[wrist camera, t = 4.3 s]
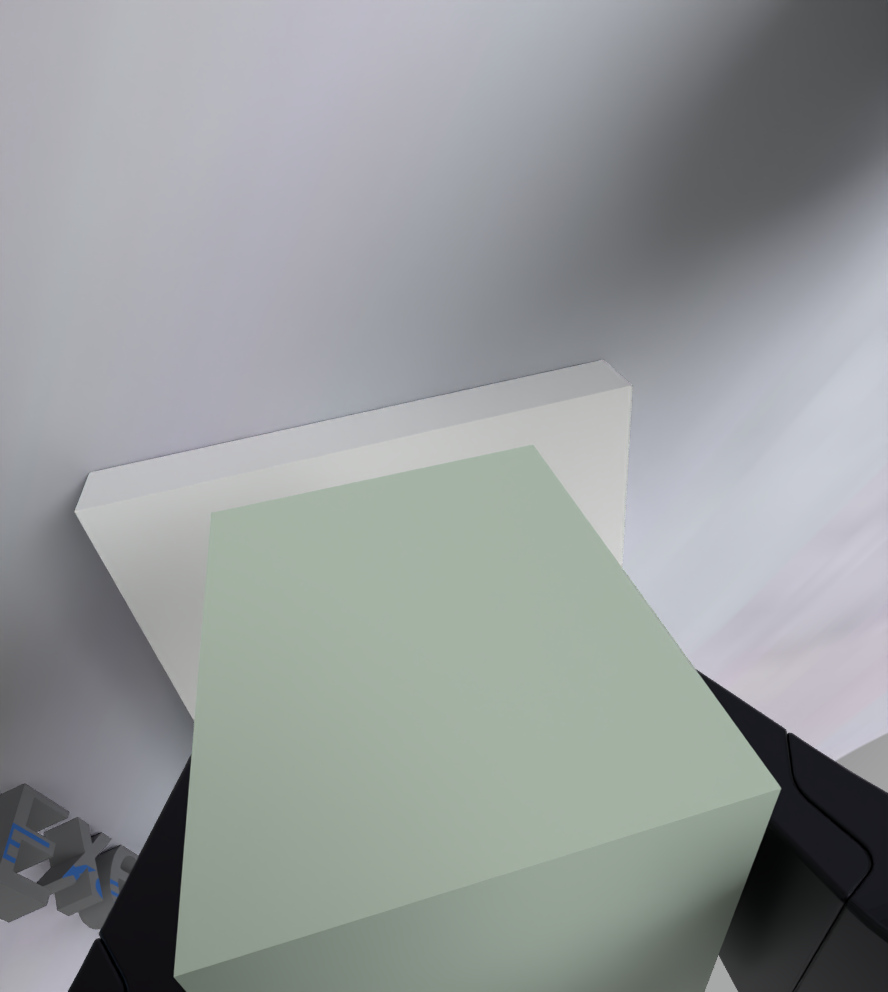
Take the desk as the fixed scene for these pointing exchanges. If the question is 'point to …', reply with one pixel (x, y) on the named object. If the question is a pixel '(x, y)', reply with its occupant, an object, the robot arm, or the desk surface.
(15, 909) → the extruded letter logo
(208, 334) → the desk surface
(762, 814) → the sage block
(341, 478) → the base plate
